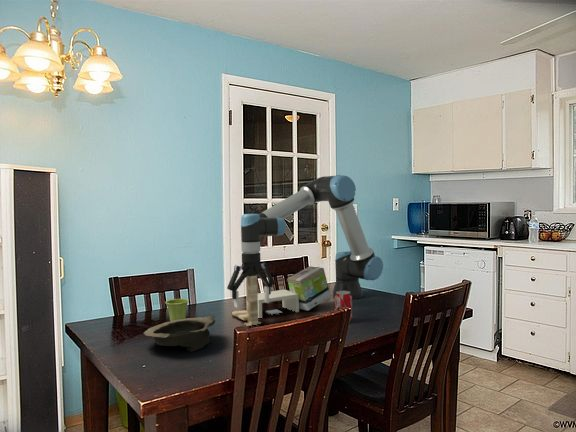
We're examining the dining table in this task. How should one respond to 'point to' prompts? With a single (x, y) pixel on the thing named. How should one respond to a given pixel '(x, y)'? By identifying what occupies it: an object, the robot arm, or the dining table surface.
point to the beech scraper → (249, 303)
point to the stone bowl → (183, 332)
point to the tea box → (309, 287)
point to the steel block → (273, 312)
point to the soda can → (343, 300)
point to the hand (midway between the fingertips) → (252, 304)
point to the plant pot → (177, 309)
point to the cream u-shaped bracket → (286, 296)
